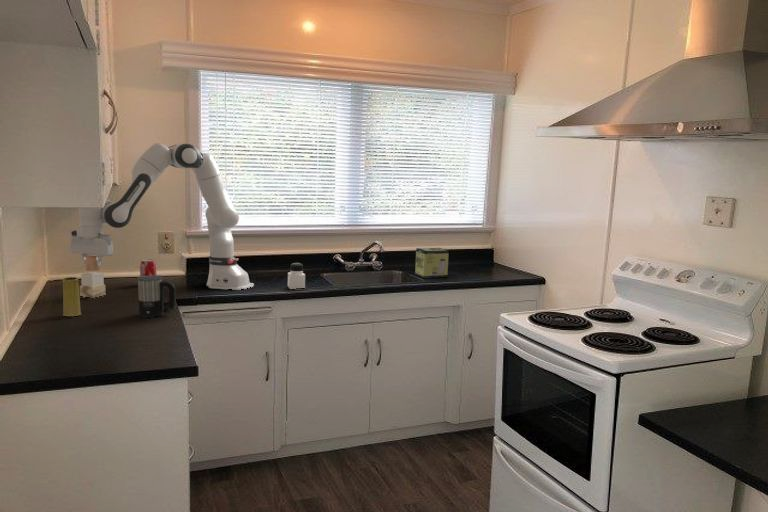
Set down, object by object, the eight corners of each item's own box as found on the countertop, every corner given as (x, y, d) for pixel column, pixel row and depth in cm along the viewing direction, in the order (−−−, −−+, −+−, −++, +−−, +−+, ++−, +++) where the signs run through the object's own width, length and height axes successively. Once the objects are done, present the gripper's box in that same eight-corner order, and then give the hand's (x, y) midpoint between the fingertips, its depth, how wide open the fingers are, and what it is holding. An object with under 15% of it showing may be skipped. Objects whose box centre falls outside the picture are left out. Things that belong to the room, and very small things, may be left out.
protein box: (414, 275, 333) (415, 248, 330) (438, 274, 339) (440, 247, 336) (423, 278, 323) (424, 250, 321) (447, 277, 329) (449, 250, 327)
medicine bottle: (305, 289, 285) (305, 264, 283) (290, 289, 282) (291, 265, 280) (301, 286, 291) (302, 262, 290) (287, 286, 289) (287, 262, 287)
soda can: (137, 285, 279) (136, 260, 277) (149, 282, 285) (148, 258, 283) (147, 287, 275) (147, 261, 274) (159, 284, 282) (159, 259, 280)
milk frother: (138, 318, 222) (137, 280, 220) (136, 309, 236) (135, 272, 234) (178, 316, 228) (177, 278, 226) (174, 306, 242) (173, 271, 240)
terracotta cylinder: (101, 269, 254) (101, 255, 253) (92, 271, 249) (92, 257, 248) (92, 268, 256) (92, 254, 255) (83, 270, 251) (82, 256, 250)
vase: (64, 314, 224) (62, 277, 222) (82, 313, 226) (80, 276, 224) (61, 318, 218) (60, 280, 216) (80, 317, 221) (78, 279, 218)
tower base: (105, 295, 256) (105, 284, 256) (92, 298, 250) (92, 287, 249) (93, 294, 259) (92, 282, 258) (80, 297, 252) (79, 285, 251)
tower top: (103, 284, 255) (103, 273, 254) (92, 287, 250) (92, 275, 249) (93, 283, 257) (92, 271, 256) (81, 285, 252) (81, 274, 251)
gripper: (116, 233, 250) (117, 265, 252) (78, 230, 256) (80, 261, 258) (104, 235, 244) (106, 268, 246) (66, 231, 250) (68, 263, 253)
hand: (92, 264), depth 252 cm, fingers closed on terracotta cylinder, 5 cm apart
